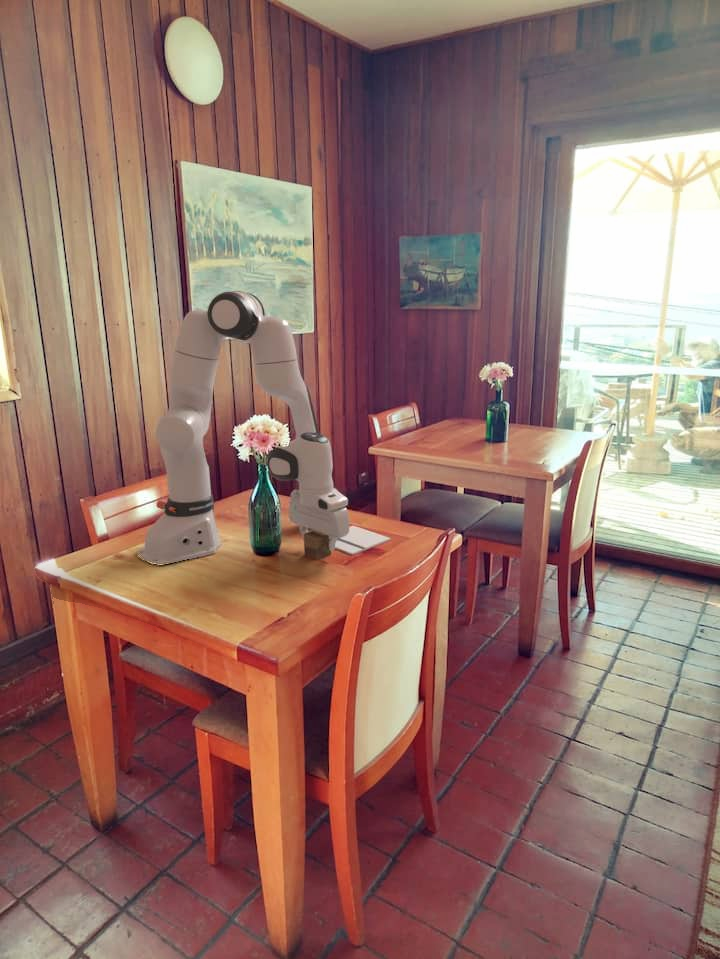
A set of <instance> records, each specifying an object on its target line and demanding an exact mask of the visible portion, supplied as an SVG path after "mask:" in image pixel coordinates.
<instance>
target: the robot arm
mask: <svg viewBox="0 0 720 959" xmlns="http://www.w3.org/2000/svg"><path fill="white" fill-rule="evenodd" d="M226 338H229V339H235V340H240V341H247V342H248V343H249V345H250V348H251V352H252V356H253V357H252V359H253V366H254V367H253V368H254V374H255V379H256V382H257V385H258V387H259V388H260V389H261V390H262V391H263V392H264V393H265V394H267V395H269V396H270V397H272V398H276V399H280V400H281V401H283V402H284V403H286V404H287V406H288V407H289V409H290V413H291V417H292V422H293V425H294V430H295V433H296V434H295V438H294V439H293V440H290V441H288V442H289V445H288V446H287V447H282V446H278V445H276V446H277V447H276V446H274V447H275V448H274V447H273V448H274V449H273V450H271V449H270V450H271V451H270V450H269V451H270V452H269V451H268V453H269V454H268V453H267V455H268V461H267V460H266V467H267V466H268V468H267V470H268V472H269V474H270V475H271V477H272V478H274V479H275V480H277V481H280V482H292V481H297V482H298V489H296V488H295V489H293V490H292V491H291V493H290V499H289V505H288V519H289V521H290V522H291V523H292V524H295V525H298V528H299V531H300V533H301V535H302V540H303V542H304V534H305V533H308V532H309V530H311V531H314V530H315V531H318V532H321V533H323V534H326V535H329V539H330V542H329V543H327V544H326V545H327V549H328V550H330V551H331V552H333V551H335V543H336V541H337V539H339V538H342V537H345V536H347V534H348V533H349V527H350V514H349V510H348V509H347V507H346V506H348V505H349V499H348V498H347V497H346V496H345V495H344V494H342V493H341V492H339V490H338V489H337V488H335V487H334V481H333V477H332V473H333V470H334V469H333V467H334V466H333V465H334V464H333V452H332V451H333V450H332V446H331V443H330V440H329V438H328V437H327V436H325V435H324V434H322V433H320V432H319V427H318V424H317V418H316V415H315V409H314V406H313V401H312V398H311V393H310V391H309V388H308V386H307V384H306V382H305V381H304V379H303V377H302V375H301V371H300V368H299V360H298V355H297V348H296V343H295V339H294V336H293V333H292V329H291V326H290V324H289V322H288V321H287V320H285V318H282V317H280V316H274V315H272V316H266V315H265V308H264V305H263V304H262V302H261V300H260V299H259V298H258V297H257V296H255V295H254V294H252V293H249V292H245V291H243V290H241V291H240V290H233V291H223V292H221V293H219V294H217V295H216V296H214V297H213V299H211V301H210V302H209V305H208V308H207V310H204V309H194V310H191V311H189V312H187V313H186V314H185V316H184V318H183V320H182V323H181V325H180V328H179V331H178V336H177V339H176V342H175V343H176V344H175V349H174V354H173V360H172V365H171V366H172V367H171V371H170V378H169V382H170V399H169V406H168V411H167V412H166V413H164V414H163V415H162V416H161V417H160V418H159V420H158V422H157V426H156V431H155V438H156V441H157V443H158V445H159V449H160V452H161V456H162V459H163V463H164V466H165V471H166V479H167V489H168V498H167V500H166V502H165V501H163V500H158V501H157V502H156V503H155V504H156V505H155V506H156V507H157V508H158V509H161V510H164V513H163V514H162V515H161V516H160V517H159V518H158V519H157V520H156V521H155V522H154V523H153V524H152V525H151V526H150V527H149V528H148V529H147V531H146V533H145V537H144V546H142V547H140V548H137V550H136V555H137V554H138V555H139V556H140V557H141V558H142V559H144V560H146V561H149V562H152V563H156V564H166V563H172V562H177V561H181V560H185V561H188V560H187V559H189V560H194V559H196V558H197V557H198V558H201V557H206V556H209V555H210V556H211V555H213V554H216V553H217V549H218V547H220V545H221V544H222V540H221V538H220V536H219V533H218V529H217V526H216V520H215V516H214V515H215V514H214V512H215V506H214V505H215V503H214V496H213V493H212V489H211V488H212V487H211V478H210V477H211V476H210V467H209V464H208V462H207V457H206V454H205V450H204V437H205V435H207V432H208V431H209V426H210V421H211V415H212V414H211V413H212V405H213V395H214V386H215V381H216V376H217V370H218V365H219V360H220V354H221V349H222V345H223V343H224V340H226ZM286 445H287V444H286ZM193 558H194V559H193ZM181 562H182V561H181ZM177 563H178V562H177Z"/></svg>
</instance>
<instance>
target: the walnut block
mask: <svg viewBox="0 0 720 959" xmlns="http://www.w3.org/2000/svg"><path fill="white" fill-rule="evenodd" d="M329 542H330V539H329V535H326V534H323V533H321V532H318V531H315V530H311V531H308V533H305V534H304V541H303V545H304V546H303V549H304V550H303V551H304V556H307V557H308V558H311V559H314V560H316V561H318V560H320V559H324V558H326V557H329V556H331V555H332V551H330V550H328V549H327V545H326V544H327V543H329Z"/></svg>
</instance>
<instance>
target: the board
mask: <svg viewBox="0 0 720 959" xmlns="http://www.w3.org/2000/svg"><path fill="white" fill-rule="evenodd" d="M391 540H392V539H391V537H388V536H386V535H383V534H379V533H376V532H373V531H370V530H369V529H365V528H362V527H358V526H355V525H351V526H349V533H348V534H347V536H345V537H342V538H339V539H337V541H336V543H335V549H336V550H338V551H339V552H342V553H346V554H348V555H351V556H354V555H357V554H359V553H361V552H363V551H366V550H369V549H371V548H373V547H376V546H379V545H381V544H384V543H387V542H389V541H391Z"/></svg>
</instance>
